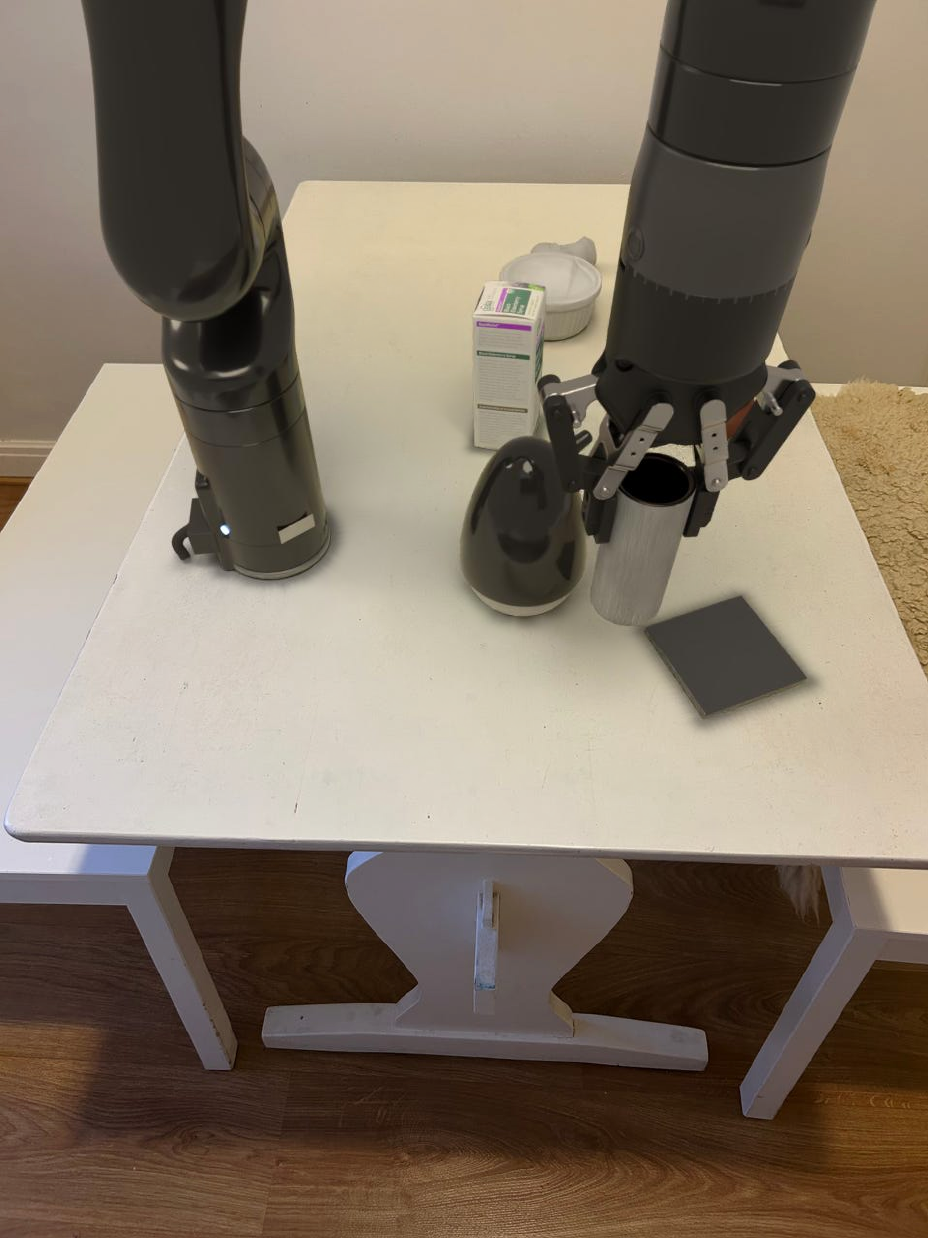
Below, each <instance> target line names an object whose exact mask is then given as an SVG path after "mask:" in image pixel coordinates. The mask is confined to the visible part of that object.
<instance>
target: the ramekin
mask: <svg viewBox="0 0 928 1238" xmlns="http://www.w3.org/2000/svg"><path fill="white" fill-rule="evenodd" d="M499 273H500V274H499V280H498V281H510V282H522V283H529V284H535V285H540V286H545V287H546V289H547V291H546V309H545V329H544V341H560V340H566V339H569V338H571V337H574V336H576V335H577V334H579V333H580V332H581V331H583V330H584V329H585V328H587V325H588V324H589V322H590V319H591V317H592V314H593V312H594V309H595V305H596V302H597V299H598V297H599V295H601V292H602V287H603V277H602V275H601V272H600V271H599V270H598V269H597V268H596V267H595V265H594V266H593V265H592V264H590V263H589V262H587V261H585V260H583V259H581V258H579V257H576V256H573V255H569V254H564V253H558V252H538V253H531V254H530V253H526V254H523V255H520V256H516V257H515V258H513V259H511V260H510V261H508V262H506V264H505V265H504V266H503V267H502V268H501V271H500V272H499Z"/></svg>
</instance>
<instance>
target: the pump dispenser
mask: <svg viewBox="0 0 928 1238" xmlns="http://www.w3.org/2000/svg"><path fill="white" fill-rule="evenodd" d="M575 438H576V443H577V448H578V453H579V454H581V452H582V451H583V450H585V449H586V448H587V447H588V446H590V444H592V443H593V435H592V432H590V431H589V430H587V429H583V430H581V431H579V432H577V433H575ZM582 501H583V497H582V494H581V490H580V491H578V492H576V493H566V492H565V491H563V489H562V486H561V482H560V478H559V474H558V469H557V466H556V464H555V460H554V456H553V452H552V448H551V443H550V440H547V439H546V438H544V437H540V436H537V435H535V436H520V437H517V438H514V439H512V440H510V441H508V442H506V443H505V444H504V445H502V446H501V447H500V448H499V449H498V450H495V452H494V453H493V454H492V456H491V457H490V458H489V460H488V462H487V463H486V464H485V466H484V468H483V470H482V472H481V473H480V475H479V477H478V479H477V481H476V484H475V486H474V488H473V491H472V493H471V495H470V499H469V501H468V504H467V508H466V511H465V514H464V517H463V523H462V527H461V532H460V539H459V546H458V547H459V548H458V558H459V566H460V570H461V573H462V575H463V577H464V579H465V580H466V581H467V582H468V584H469V585H470V587H471V589H472V590H473V592H474V594H476V596H477V597H478V598H479V600H481V601H482V602H483V603H484V604H485V605H487V606H489V607H490V608H491V609H493V610H495V611H497V612H500V613H502V614H505V615H510V616H514V617H532V616H536V615H537V616H538V615H541V614H544V613H546V612H549V611H551V610H553V609H555V608H556V607H558V606H559V605H560V604H561V603H563V602H564V601H565V600H566V599H567V598H568V597H569V595H570V594H571V593H572V592H573V591H574V589H576V588H577V587H578V585H579V584H580V583H581V581H582V579H583V577H584V575H585V571H586V568H587V561H588V535H587V533H586V530H585V527H584V523H583V520H582V516H581V507H582Z"/></svg>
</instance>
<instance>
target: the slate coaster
mask: <svg viewBox="0 0 928 1238" xmlns="http://www.w3.org/2000/svg"><path fill="white" fill-rule="evenodd" d="M643 632H644V633H645V635H646V637H647V638H648V640H649V641H650V642H651V645H653V647H654V648H655V649H656V651H657V653H658V654H659V655H660V657H661V658H662V660H663V661H664V663H665V665H667V667H668V669H669V670H670V672H671V673H672V674H673V677H675V679H676V680H677V681H678V684H680V686H681V688H682V689H683V691H684V692H685V693H686V695H687V696H688V698H689V699H690V701H691V703H692V704H694V706H695V708H696V710H697V711H698V712H699V714H700V715H701V717H702V718H703V719H704V720H707V719H709V718H713V717H715V716H717V715H720V714H723V713H726V712H729V711H731V710H733V709H737V708H740V707H743V706H745V705H747V704H749V703H753V702H755V701H759V700H761V699H764V698H766V697H769V696H772V695H774V694H777V693H780V692H782V691H785V690H788V689H791V688H793V687H796V686H799V685H801V684H805V683H806V682H807V681H808V676H807V675H806V674H805V673H804V672H803V669H801V668H800V667H799V665H798V664H797V662H795V661H794V659H793V658H792V657H791V655H790V653H788V651H787V650H786V649H785V648H784V646H783V645H782V644H781V643H780V642H779V640H778V639H777V637H775V635H774V634H773V633H772V631H771V630H770V629H769V628H768V627H767V625H766V624H765V623H764V621H763V620H762V619H761V618H760V616H759V615H758V614H757V613H756V612H755V611H754V609H753V608H752V607H751V605H750V604H749V603H748V602H747V600H746V599H745V598H744V597H743V595H741V594H739V595H737V596H734V597H731V598H728V599H725V600H723V601H719V602H717V603H712V604H710V605H707V606H705V607H701V608H699V609H696V610H692V611H690V612H686V613H683V614H680V615H677V616H674V617H671V618H667V619H666V620H662V621H659V622H656V623H652V624H650V625H647V626H645V627H644V630H643Z"/></svg>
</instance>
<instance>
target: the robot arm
mask: <svg viewBox="0 0 928 1238" xmlns="http://www.w3.org/2000/svg"><path fill="white" fill-rule="evenodd" d="M877 1H878V0H667V1H666V2H667V3H666V6H665V10H664V11H665V12H664V17H663V22H662V27H661V32H660V39H659V44H658V51H657V57H656V64H655V69H654V77H653V82H652V87H651V95H650V100H649V107H648V113H647V120H646V122H645V123H646V124H645V127H644V133H643V136H642V140H641V144H640V147H639V151H638V154H637V158H636V161H635V165H634V168H633V172H632V176H631V180H630V186H629V189H628V190H629V191H628V197H627V202H626V203H627V204H626V209H625V216H624V222H623V228H622V235H621V242H620V248H619V253H618V259H617V268H616V274H615V281H614V286H613V292H612V299H611V306H610V312H609V319H608V325H607V332H606V341H605V345H604V349H603V351H602V353H601V355H600V356H599V358H598V359H597V361H595V363H594V364H593V365H592V368H591V372H590V373H589V374H586V375H583V376H578V377H575V378H572V379H569V380H564V381H562V380H561V378H560V377H559V376H558V375H556V374H554V373H553V374H552V373H549V374H544V375H542V378H541V379H540V380H539V381H538V383H537V389H538V393H539V397H540V407H541V410H542V413H543V418H544V422H545V426H546V431H547V436H548V438H549V442H550V443H551V448H552V452H553V456H554V460H555V464H556V466H557V469H558V474H559V478H560V482H561V486H562V489H563V491H565V492H566V493H576V492H578V491H580V492H581V490H582V491H583V496H582V507H581V516H582V520H583V523H584V527H585V530H586V533H587V537H592V538H593V540H594V543H595V545H599V544H606V543H609V541H610V536H611V531H612V526H613V521H614V516H615V511H616V506H617V501H618V498H617V495H616V491H617V489H618V487H619V486H620V484H621V483H622V481H623V479H624V478H625V476H626V474H627V473H628V471H634V470H635V469H636V468H637V467H638V465H639V463H640V462H641V460H642V459H643V457H644V455H645V454H646V452H648V451H649V449H656V448H660V447H664V446H668V445H676V446H683V447H691V450H692V458H693V461H694V465H689V466H688V465H687V466H688V467H689V468H690V470H691V471H692V472H693V474H694V476H695V479H696V490H695V494H694V497H693V501H692V504H691V507H690V511H689V514H688V517H687V521H686V524H685V527H684V531H683V534H682V537H683V538H695V537H698V536H699V534H700V530H701V528H706V527H707V526H708V525H709V523H710V522H711V521H712V518H713V515H714V512H715V509H716V505H717V502H718V500H719V497H720V494H721V491H722V490H724V489H725V488H726V487H727V486H728V484H729V482H730V481H732V480H735V479H738V478H742V480H744V481H754V480H757V479H759V478H760V477H761V476H762V475H763V474H764V472H765V471H766V470H767V468H768V467H769V465H770V464H771V462H772V461H773V460H774V458H775V457H776V455H777V454H778V452H779V451H780V449H781V448H782V446H783V445H784V444H785V442H786V441H787V440H788V438H789V436H790V435H791V434H792V433H793V431H794V429H795V428H796V427H797V426H798V424H799V423H800V422H801V420H802V418H803V417H804V416H805V414H806V412H807V411H808V410H809V408H810V407H811V405H812V404H813V402H814V401H815V399H816V398H817V397H816V396H817V392H816V390H815V389H814V387H813V385H812V384H811V382H810V380H809V379H808V378H807V376H806V374H805V372H804V371H803V369H802V368H801V366H800V364H799V363H798V361H796V360H795V359H786V360H784V361H782V362H780V363H779V364H778V365H777V366H775V365H774V366H773V365H769V364H766V363H767V362H766V360H767V359H768V358H769V356H770V355H771V353H772V349H773V346H774V343H775V342H776V341H775V340H776V338H777V334H778V332H779V328H780V326H781V322H782V320H783V317H784V313H785V311H786V308H787V305H788V302H789V298H790V296H791V292H792V290H793V288H794V287H793V286H794V283H795V281H796V278H797V274H798V271H799V269H800V266H801V262H802V259H803V256H804V253H805V251H806V248H807V247H808V245H809V242H810V240H811V237H812V232H813V231H812V229H813V226H814V223H815V220H816V218H817V217H816V216H817V213H818V211H819V210H818V209H819V206H820V202H821V197H822V193H823V188H824V183H825V177H826V172H827V167H828V163H829V162H828V161H829V158H830V155H831V151H832V147H833V143H834V139H835V137H836V133H837V130H838V127H839V124H840V121H841V118H842V115H843V111H844V109H845V105H846V104H847V103H846V102H847V101H848V96H849V93H850V90H851V87H852V84H853V81H854V77H855V75H856V72H857V69H858V66H859V63H860V60H861V58H862V55H863V50H864V47H865V45H866V41H867V37H868V33H869V29H870V26H871V21H872V18H873V14H874V11H875V7H876V4H877ZM80 3H81V9H82V15H83V21H84V26H85V31H86V32H85V33H86V37H87V44H88V45H87V46H88V51H89V52H88V53H89V59H90V61H89V62H90V68H91V79H92V92H93V106H94V107H93V108H94V126H95V127H94V128H95V129H94V130H95V145H96V165H97V166H96V167H97V168H96V169H97V188H98V189H97V191H98V210H99V211H98V213H99V214H98V215H99V225H100V232H101V236H102V241H103V245H104V247H105V251H106V253H107V255H108V258H109V260H110V262H111V264H112V266H113V268H114V270H115V271H116V273H117V275H118V276H119V278H120V280H121V281H122V283H124V285H125V287H127V288H128V290H129V291H130V292H131V293H132V294H133V295H134V296H135V297H136V299H138V300H139V301H140V302H141V303H142V304H143V305H145V306H146V307H148V308H149V309H150V310H152V311H153V312H155V313H156V314H159V315H160V319H161V320H160V321H161V325H160V326H161V327H160V328H161V329H160V331H161V332H160V357H161V362H162V366H163V369H164V373H165V376H166V378H167V382H168V384H169V388H170V390H171V394H172V398H173V399H174V402H175V405H176V408H177V412H178V415H179V418H180V420H181V423H182V427H183V430H184V433H185V436H186V439H187V441H188V445H189V448H190V451H191V454H192V457H193V460H194V463H195V467H196V471H195V477H194V478H195V479H194V489H195V492H196V495H197V497H193V498H191V504H190V511H189V518H188V523H186V524H185V525H184V526H181V528H179V529H178V530H177V531H176V532H174V534H173V536H172V538H171V546H172V549H173V551H174V553H175V554H176V555H177V556H178V558H179V560H181V561H185V560H188V559H189V558H191V554H190V552H189V551H188V549H187V548H186V547H185V545H184V542H185V540H186V539H188V542H189V543H190V548H191V549H192V552H193V554H194V556H195V555H196V556H197V555H208V554H209V555H210V554H217V557H218V560H219V563H220V567H221V569H222V570H223V571H228V570H232V571H233V570H235V571H237V572H239V573H241V574H242V575H244V576H248V577H251V578H254V579H259V580H260V579H261V580H279V579H284V578H288V577H292V576H295V575H298V574H300V573H302V572H304V571H306V570H307V569H310V568H311V567H313V566H314V565H315V564H316V563H318V562H319V561H320V560H321V559H322V557H323V556H324V555H325V553H326V551H327V550H328V548H329V545H330V542H331V535H332V534H331V528H330V522H329V520H328V514H327V511H326V507H325V501H324V495H323V490H322V489H323V488H322V484H321V477H320V474H319V468H318V462H317V457H316V452H315V448H314V441H313V436H312V430H311V425H310V424H311V423H310V420H309V419H310V418H309V414H308V408H307V403H306V398H305V397H306V396H305V393H304V392H305V391H304V386H303V381H302V376H301V370H300V365H299V359H298V354H297V348H296V314H295V302H294V300H295V299H294V295H293V287H292V281H291V274H290V268H289V262H288V261H289V260H288V255H287V248H286V241H285V235H284V228H283V223H282V222H283V221H282V217H281V216H282V215H281V211H280V206H279V202H278V201H279V200H278V196H277V193H276V189H275V185H274V183H273V179H272V177H271V174H270V171H269V169H268V167H267V165H266V163H265V161H264V160H263V158H262V156H261V155H260V153H259V151H258V150H257V149H256V148H255V146H254V145H253V144H252V143H251V141H250V140H249V139H248V138H247V137H246V136H245V135H244V134H243V122H242V103H241V99H242V98H241V69H242V68H241V67H242V66H241V64H242V53H243V52H242V51H243V43H244V42H243V41H244V33H245V25H246V20H247V19H246V18H247V11H248V3H249V0H80ZM753 398H754V400H755V402H754V403H753V405H752V406H751V408H750V410H749V411H748V413H747V414H746V416H745V417H744V419H743V421H742V422H741V424H740V425H739V427H738V428H737V430H736V431H735V433H734V435H733V436H732V438H730V439H729V441H728V439H727V434H726V423H727V422H728V421H729V420H730V419H731V418H732V417H733V416H734V415H735V414H737V413H738V412H739V411H740V410H741V409H742V408H743V407H744V406H745V405H747V404H748V403H749V402H750V401H751V400H752V399H753ZM595 401H597V402H598V403H599V404H600V405H601V407H602V408H603V410H604V411H605V415H604V416H603V419H602V420H601V422H600V424H599V429H598V437H597V439H596V440H595V442H594V444H593V446H592V448H591V449H590V451H589V453H588V455H585V454H581V453H578V448H577V443H576V438H575V435H576V433H575V430H578V429H580V428H581V427H582V424H583V422H584V421H585V419H586V416H587V409H588V407H589V406H590V405H591V404H592V403H594V402H595Z"/></svg>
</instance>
